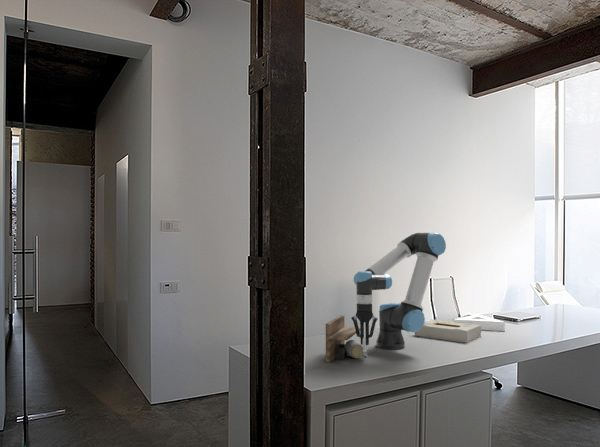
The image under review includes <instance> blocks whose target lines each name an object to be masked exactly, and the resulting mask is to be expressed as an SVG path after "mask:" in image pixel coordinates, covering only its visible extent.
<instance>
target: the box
mask: <svg viewBox="0 0 600 447" xmlns="http://www.w3.org/2000/svg"><path fill="white" fill-rule="evenodd" d="M414 336H416V337H417V336H418V337H423V338H430V339H439V340H444V341H454V342H459V343H460V342H461V343H464V344H465V343H466V344H467V343H469V342H471V341H473V340H475V339H477V338H479V337H481V336H482V330H481V326H480V325H476V324H469V323H466V324H463V323H455V322H454V321H445V320H439V319H429V320H426V321H425V322H424V325H423V327H422V328H421V329H420V330H418V331H417V332H414Z"/></svg>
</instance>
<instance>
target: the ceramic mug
mask: <svg viewBox="0 0 600 447" xmlns="http://www.w3.org/2000/svg"><path fill="white" fill-rule="evenodd" d="M344 348H345V353H346V354H347V355H348V356H349V357H351V358H353V359H360V358H362V356H363V357H367V356H368V353H367V352H363V345H361V343H359V342H357V341H355V340H354V339H348V340H346V342H345V346H344ZM347 355H346V356H347Z"/></svg>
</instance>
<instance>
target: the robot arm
mask: <svg viewBox="0 0 600 447" xmlns="http://www.w3.org/2000/svg"><path fill="white" fill-rule="evenodd" d="M446 249H447V244H446V240H445V237H444V236H443V235H442V234H440V233H438V232H416V233H413V234H410V235H409V236H407V237H406V238H403V239H402V240H401V241H399V242H398V243H397V245H396V247H395V248H393V249H392V250H391V251H389V252H388V253H387V254H385V255H384V256H382V257H381V258H380V259H378V260H377V261H376V262H375V263H373V264H372V265H370V266H369V267H368V268H367V269H366V270H360V271H357V272H356V273H355V274H354V276H353V283H354V285H355V286H356V313H355V315H354V316H352V317H351V320H352V322H353V325H354V328H355V330H356V334H355V335H356V337H358V338H359V339H360V345H361V346H362V347H363V352H365V353H367V351H368V346H369V345H370V338H372V337H373V335H374V331H375V327H376V323H377V321H378V320H379V332H378V335H377V338H376V343H375V344H376V347H377V348H379V349H384V350H401V349H403V348H405V347H406V345H405V340H404V336H403V333H402V331H405V332H406V333H407V332H408V333H409V332H410V333H415V332H417V331H418V330H420V329H421V328H422V327H423V325H424V322H426V321H425V320H426V317H425V314H424V312H423V311H424V308H423V306H422V305H423V304H422V303H423V300H424V297H425V292H426V290H427V286H428V283H429V279H430V276H431V272H432V269H433V265H434V263H435V262H437V261H438V259H439V256H440V255H442V254H444V253H445V252H446ZM414 255H416V257H417V258H416V262H415V265H414V269H413V271H412V275H411V278H410V282H409V285H408V289H407V292H406V295H405V298H404V300H402V301H401V302H398V303H397V302H396V303H395V302H394V303H392V302H391V303H382V304H380V305H379V310H378V317H379V318H378V317H376V316H375V315H374V313H373V303H372V302H373V291H377V290H378V291H379V290H380V291H381V290H384V291H385V290H388V289H390V288H392V286H393V279H392V276H391V275H390V274H386V273H388V272H389V271H390V270H392V269H393V268H394V267H395V266H396V265H398V264H399V263H401V262H402V261H403V260H405V259H408V258H411V257H412V256H414ZM357 319H358V320H357ZM358 321H359V322H358ZM370 321H372V322H371V326H370ZM364 325H365V326H364ZM359 326H360V327H359ZM359 328H360V331H359Z"/></svg>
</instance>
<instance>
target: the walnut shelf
mask: <svg viewBox="0 0 600 447" xmlns="http://www.w3.org/2000/svg"><path fill="white" fill-rule="evenodd" d="M359 331H360V327H359ZM355 335H357V334H356V330H355V327H350V326H349V327H348V326H345V315H342V314H341V315H339V316H337V317H336V318H333V319H332V320H329V321H328V322H327V323H325V363H331V362H332V361H333V360H335V359H341V360H342V359H343V360H345V358H346V356H349V355H347V354H346V353H345V348H344V346H345V344H346V342H345V341H349V340H351V338H352V337H353V336H355Z"/></svg>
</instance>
